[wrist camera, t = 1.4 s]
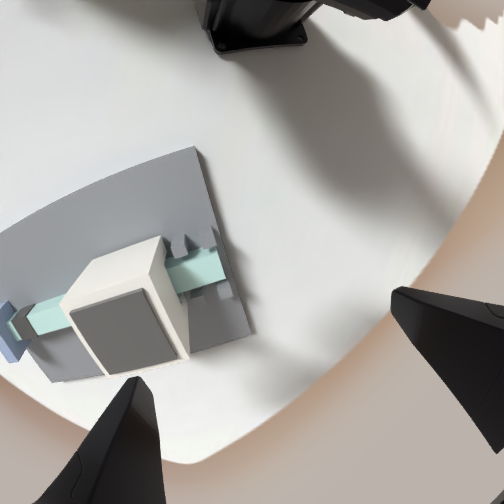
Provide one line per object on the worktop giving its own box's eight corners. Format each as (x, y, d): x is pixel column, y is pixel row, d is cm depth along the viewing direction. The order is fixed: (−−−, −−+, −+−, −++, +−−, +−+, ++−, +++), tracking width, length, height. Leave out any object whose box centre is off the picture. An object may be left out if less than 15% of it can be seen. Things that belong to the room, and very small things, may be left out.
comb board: (194, 146, 16) (195, 142, 12) (249, 327, 21) (261, 359, 17) (-19, 246, 13) (-46, 264, 10) (54, 375, 19) (43, 404, 15)
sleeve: (160, 235, 16) (147, 276, 10) (187, 303, 18) (190, 363, 12) (92, 259, 15) (56, 307, 10) (123, 322, 17) (107, 382, 12)
